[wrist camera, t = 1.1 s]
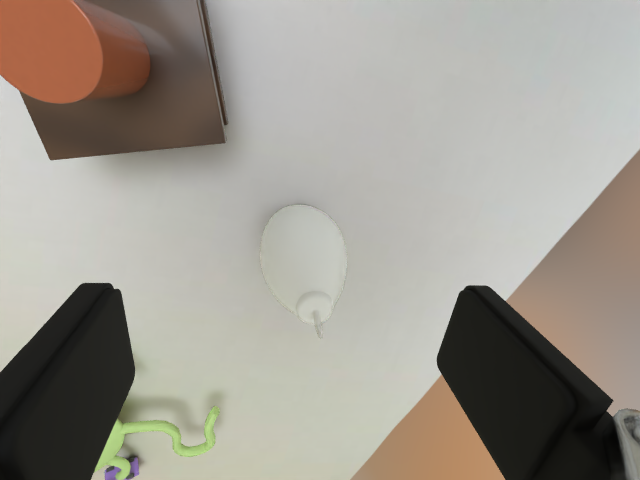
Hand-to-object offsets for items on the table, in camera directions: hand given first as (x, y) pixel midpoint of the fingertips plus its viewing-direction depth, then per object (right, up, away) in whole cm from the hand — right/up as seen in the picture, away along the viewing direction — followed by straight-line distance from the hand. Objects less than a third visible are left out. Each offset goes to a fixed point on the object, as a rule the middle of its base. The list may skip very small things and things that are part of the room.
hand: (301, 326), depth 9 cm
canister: (-13, +14, +11) cm, 22 cm away
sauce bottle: (-2, +4, +27) cm, 27 cm away
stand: (-14, +18, +18) cm, 29 cm away
